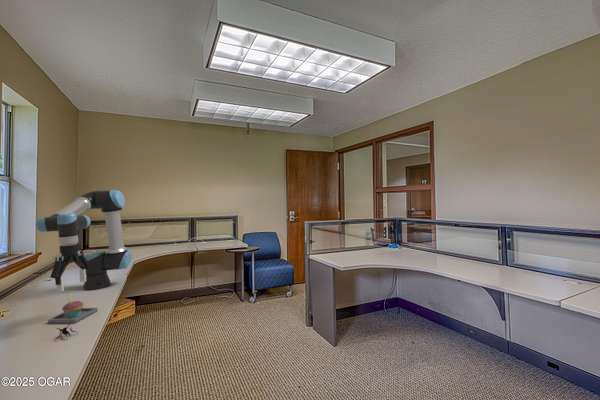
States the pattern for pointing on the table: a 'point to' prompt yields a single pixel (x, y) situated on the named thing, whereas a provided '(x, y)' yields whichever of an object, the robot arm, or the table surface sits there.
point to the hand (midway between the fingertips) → (72, 286)
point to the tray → (64, 318)
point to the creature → (65, 331)
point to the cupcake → (73, 308)
